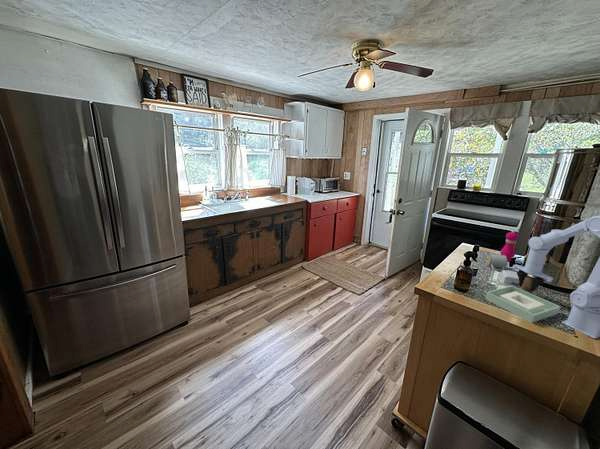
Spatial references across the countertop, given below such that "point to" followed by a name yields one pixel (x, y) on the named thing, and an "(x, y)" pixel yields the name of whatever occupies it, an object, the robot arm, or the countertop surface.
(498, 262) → the ceramic mug
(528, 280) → the peg
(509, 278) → the charger
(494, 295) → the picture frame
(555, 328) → the countertop surface
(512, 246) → the pepper mill
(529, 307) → the bore plate
